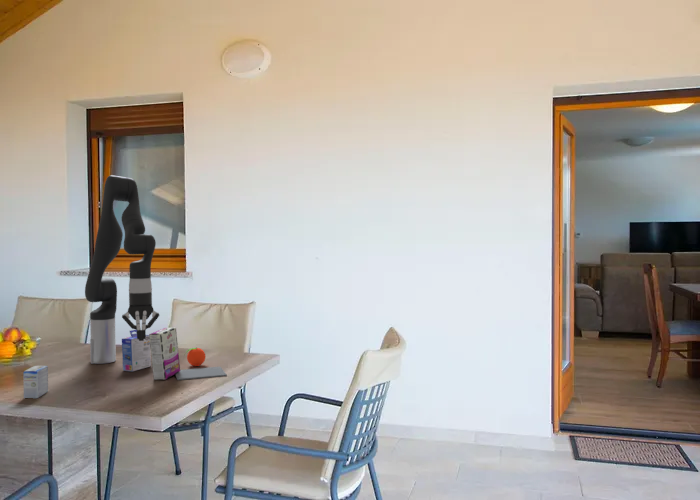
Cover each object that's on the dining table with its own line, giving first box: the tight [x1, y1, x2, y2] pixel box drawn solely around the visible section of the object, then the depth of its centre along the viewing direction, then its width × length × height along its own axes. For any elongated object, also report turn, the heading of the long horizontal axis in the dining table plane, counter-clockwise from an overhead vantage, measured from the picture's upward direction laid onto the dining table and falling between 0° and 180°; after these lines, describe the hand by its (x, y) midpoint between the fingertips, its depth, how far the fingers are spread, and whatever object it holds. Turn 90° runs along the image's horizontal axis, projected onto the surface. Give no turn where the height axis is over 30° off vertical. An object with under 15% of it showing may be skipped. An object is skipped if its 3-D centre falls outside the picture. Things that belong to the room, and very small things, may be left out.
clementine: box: [184, 347, 206, 367], centre depth 234 cm, size 8×7×7 cm
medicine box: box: [23, 365, 49, 399], centre depth 193 cm, size 8×4×9 cm, turn 5°
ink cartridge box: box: [121, 329, 152, 372], centre depth 230 cm, size 10×6×14 cm, turn 155°
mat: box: [174, 366, 228, 381], centre depth 221 cm, size 17×14×1 cm
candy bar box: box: [148, 326, 181, 381], centre depth 217 cm, size 11×5×16 cm, turn 168°
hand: (141, 340), depth 214 cm, fingers closed
